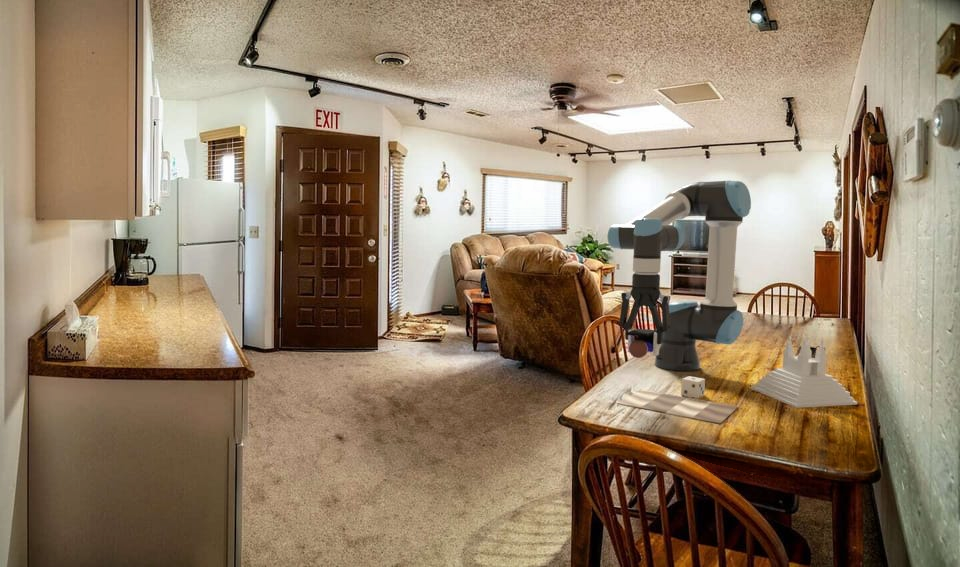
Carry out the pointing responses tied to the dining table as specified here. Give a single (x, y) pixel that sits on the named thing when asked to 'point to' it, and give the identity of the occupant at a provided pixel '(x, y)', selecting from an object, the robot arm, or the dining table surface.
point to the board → (679, 406)
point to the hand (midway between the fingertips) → (643, 353)
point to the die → (693, 387)
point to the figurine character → (641, 342)
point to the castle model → (804, 380)
